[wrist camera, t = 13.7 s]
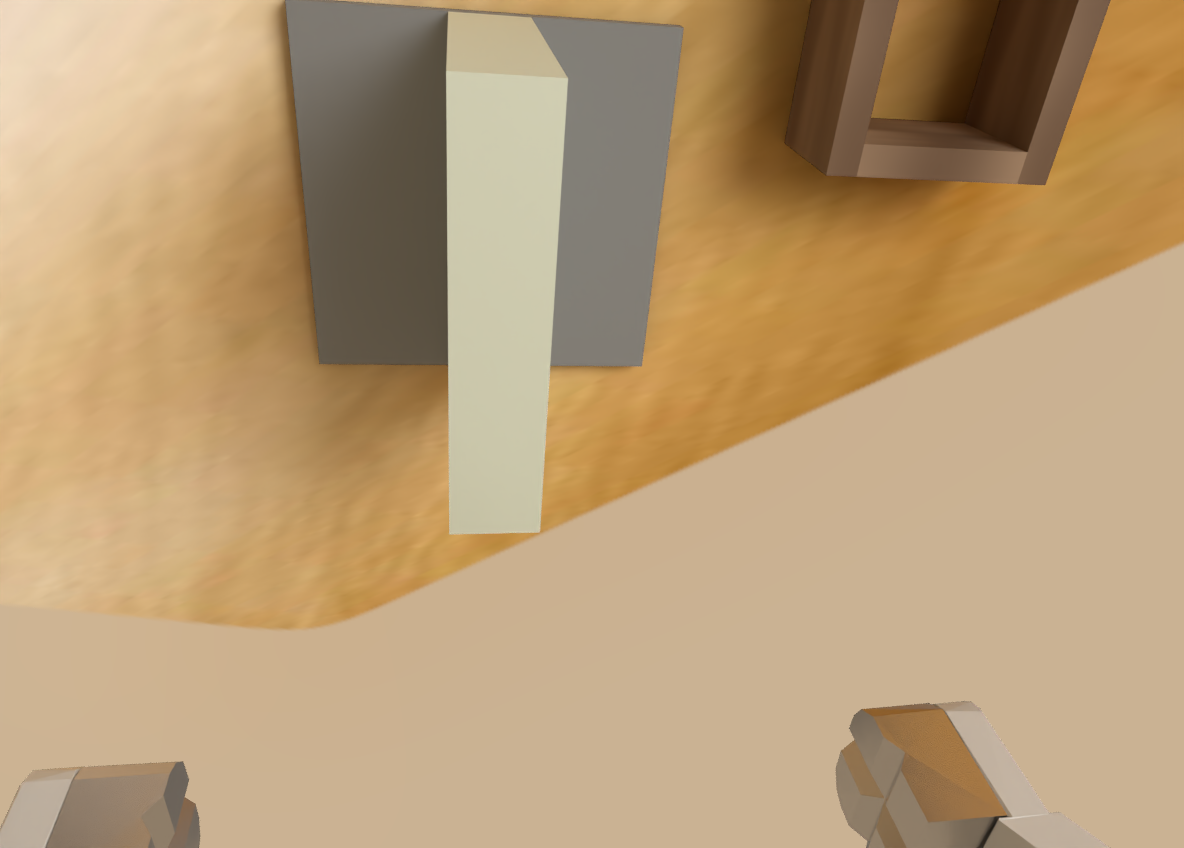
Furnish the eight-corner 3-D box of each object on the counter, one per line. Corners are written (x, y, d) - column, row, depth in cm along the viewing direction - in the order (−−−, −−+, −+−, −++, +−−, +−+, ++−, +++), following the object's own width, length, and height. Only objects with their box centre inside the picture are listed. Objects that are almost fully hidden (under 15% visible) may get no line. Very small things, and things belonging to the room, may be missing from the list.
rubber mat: (321, 356, 32) (319, 363, 31) (288, -3, 26) (284, -1, 25) (638, 359, 34) (641, 366, 33) (679, 25, 28) (683, 27, 27)
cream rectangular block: (450, 365, 32) (449, 534, 24) (448, 11, 26) (446, 71, 18) (517, 365, 33) (539, 532, 24) (531, 17, 26) (567, 78, 18)
